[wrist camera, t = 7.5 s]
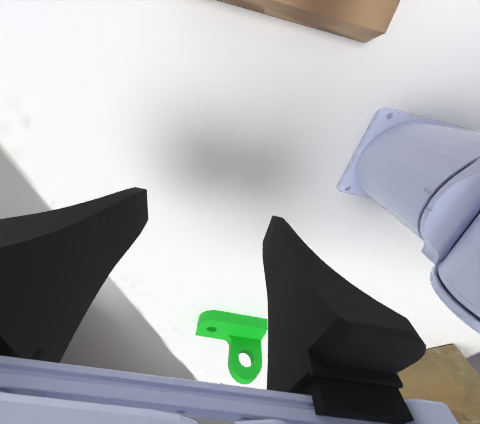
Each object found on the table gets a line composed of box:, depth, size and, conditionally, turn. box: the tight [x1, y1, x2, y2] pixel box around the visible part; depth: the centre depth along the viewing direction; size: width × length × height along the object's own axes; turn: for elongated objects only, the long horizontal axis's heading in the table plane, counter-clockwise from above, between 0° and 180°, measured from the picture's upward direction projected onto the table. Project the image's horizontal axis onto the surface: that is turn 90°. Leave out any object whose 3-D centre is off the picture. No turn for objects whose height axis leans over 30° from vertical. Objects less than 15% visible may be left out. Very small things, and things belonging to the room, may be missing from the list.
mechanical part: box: [196, 310, 268, 384], centre depth 32 cm, size 12×6×8 cm, turn 77°
